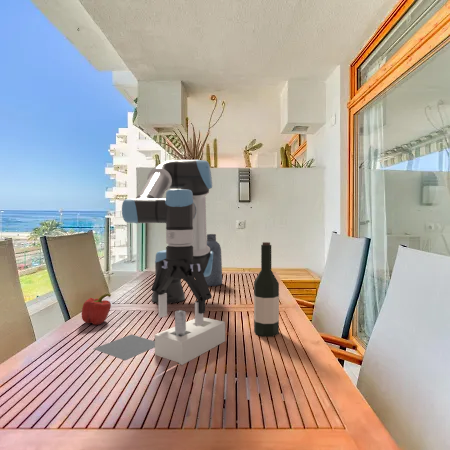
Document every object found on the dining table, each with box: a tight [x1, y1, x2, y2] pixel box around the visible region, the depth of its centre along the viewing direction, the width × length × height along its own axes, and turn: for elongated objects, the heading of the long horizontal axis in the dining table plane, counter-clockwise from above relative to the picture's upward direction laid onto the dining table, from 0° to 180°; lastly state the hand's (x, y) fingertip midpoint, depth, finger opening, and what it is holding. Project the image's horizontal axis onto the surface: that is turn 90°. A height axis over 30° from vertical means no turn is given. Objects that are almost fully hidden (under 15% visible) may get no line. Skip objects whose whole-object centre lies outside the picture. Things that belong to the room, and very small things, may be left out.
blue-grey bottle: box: [205, 233, 223, 287], centre depth 190 cm, size 12×12×28 cm
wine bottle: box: [253, 241, 280, 338], centre depth 111 cm, size 8×8×30 cm
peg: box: [174, 309, 187, 337], centre depth 94 cm, size 3×3×12 cm
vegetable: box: [81, 293, 112, 326], centre depth 122 cm, size 11×10×10 cm
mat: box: [93, 334, 155, 361], centre depth 99 cm, size 14×14×1 cm
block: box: [154, 316, 226, 366], centre depth 98 cm, size 20×10×6 cm, turn 146°
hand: (180, 320), depth 94 cm, fingers open, 13 cm apart
